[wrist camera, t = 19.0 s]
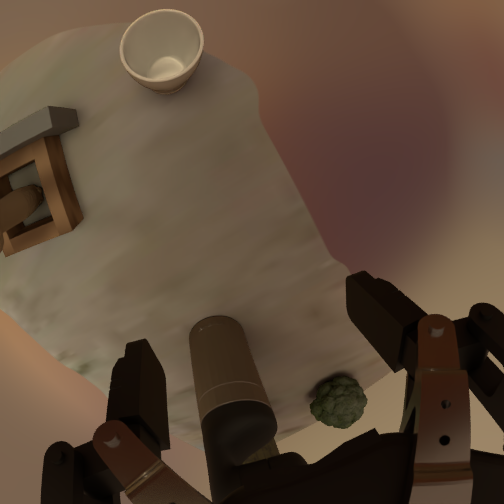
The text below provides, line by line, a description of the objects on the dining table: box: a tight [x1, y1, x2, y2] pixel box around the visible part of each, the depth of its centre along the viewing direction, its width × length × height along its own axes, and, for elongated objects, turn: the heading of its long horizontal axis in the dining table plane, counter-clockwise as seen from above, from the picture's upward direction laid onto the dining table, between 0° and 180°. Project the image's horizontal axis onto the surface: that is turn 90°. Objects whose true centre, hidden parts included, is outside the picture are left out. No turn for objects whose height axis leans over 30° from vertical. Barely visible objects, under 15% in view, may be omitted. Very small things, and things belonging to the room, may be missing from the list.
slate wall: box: [0, 106, 79, 160], centre depth 25 cm, size 2×17×9 cm, turn 101°
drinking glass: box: [120, 9, 204, 95], centre depth 24 cm, size 7×7×15 cm
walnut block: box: [0, 135, 84, 257], centre depth 29 cm, size 12×12×5 cm
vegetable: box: [310, 376, 367, 429], centre depth 58 cm, size 12×13×15 cm
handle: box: [0, 185, 43, 252], centre depth 25 cm, size 5×6×15 cm
